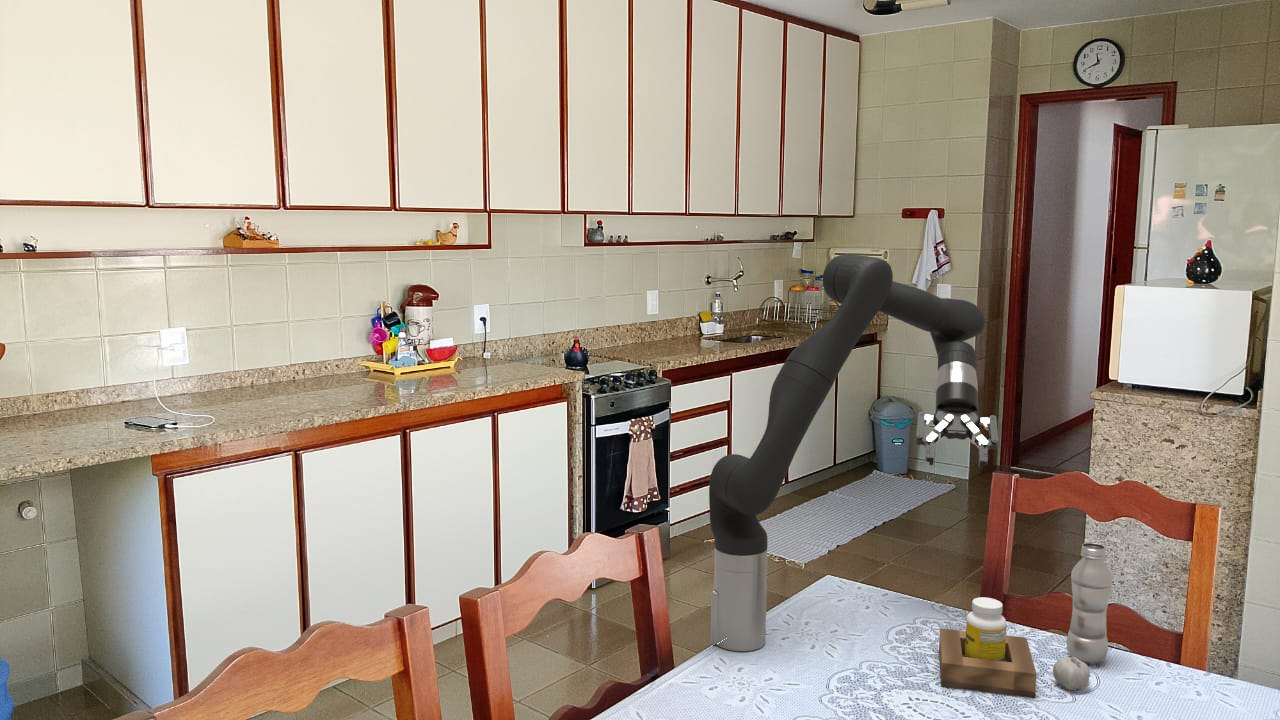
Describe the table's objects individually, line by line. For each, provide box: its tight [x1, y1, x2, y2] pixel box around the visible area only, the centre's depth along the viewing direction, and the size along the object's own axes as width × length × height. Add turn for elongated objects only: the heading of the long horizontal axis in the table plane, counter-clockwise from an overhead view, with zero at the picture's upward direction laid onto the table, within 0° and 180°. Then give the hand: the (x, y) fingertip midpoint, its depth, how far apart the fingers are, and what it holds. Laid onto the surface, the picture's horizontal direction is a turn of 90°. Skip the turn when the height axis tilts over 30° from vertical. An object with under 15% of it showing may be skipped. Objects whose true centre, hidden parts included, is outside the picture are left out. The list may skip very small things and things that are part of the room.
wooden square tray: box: [938, 627, 1037, 699], centre depth 157 cm, size 14×14×4 cm
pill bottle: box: [965, 596, 1007, 662], centre depth 157 cm, size 6×6×11 cm
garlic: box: [1052, 656, 1091, 691], centre depth 153 cm, size 6×5×5 cm
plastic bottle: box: [1065, 542, 1113, 665], centre depth 161 cm, size 6×7×20 cm
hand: (956, 464), depth 172 cm, fingers open, 8 cm apart
